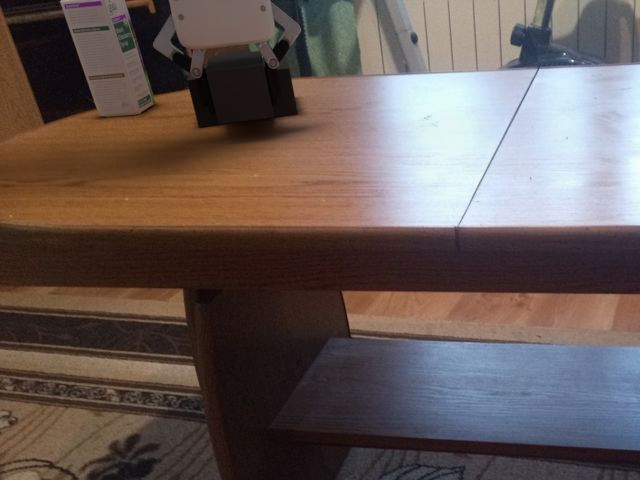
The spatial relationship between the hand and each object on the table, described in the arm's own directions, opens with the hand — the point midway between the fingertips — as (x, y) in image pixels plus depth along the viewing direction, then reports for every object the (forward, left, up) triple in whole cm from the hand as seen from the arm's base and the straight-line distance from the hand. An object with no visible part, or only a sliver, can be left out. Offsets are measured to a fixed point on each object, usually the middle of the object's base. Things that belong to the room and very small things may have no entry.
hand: (244, 106), depth 82 cm
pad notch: (0, +12, -3) cm, 13 cm away
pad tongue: (0, +3, -1) cm, 3 cm away
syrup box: (-16, +22, -3) cm, 28 cm away
